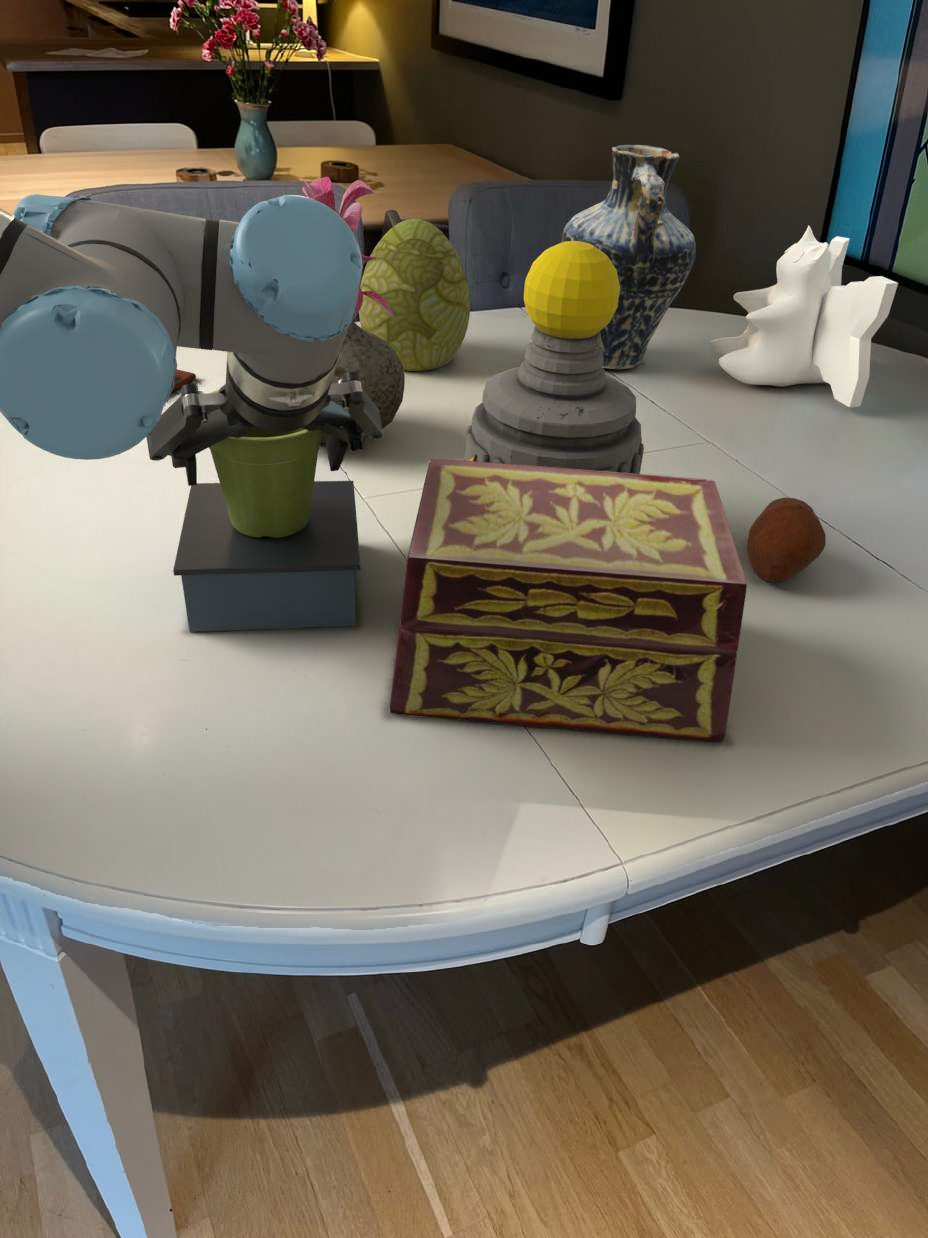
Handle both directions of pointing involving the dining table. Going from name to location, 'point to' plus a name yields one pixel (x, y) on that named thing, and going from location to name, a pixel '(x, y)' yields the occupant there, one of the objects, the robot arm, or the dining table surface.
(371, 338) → the vase
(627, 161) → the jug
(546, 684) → the decorative box
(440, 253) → the decorative sculpture
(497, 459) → the decorative lamp
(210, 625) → the container
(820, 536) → the potato
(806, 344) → the cat figurine
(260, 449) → the plant pot
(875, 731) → the dining table surface
